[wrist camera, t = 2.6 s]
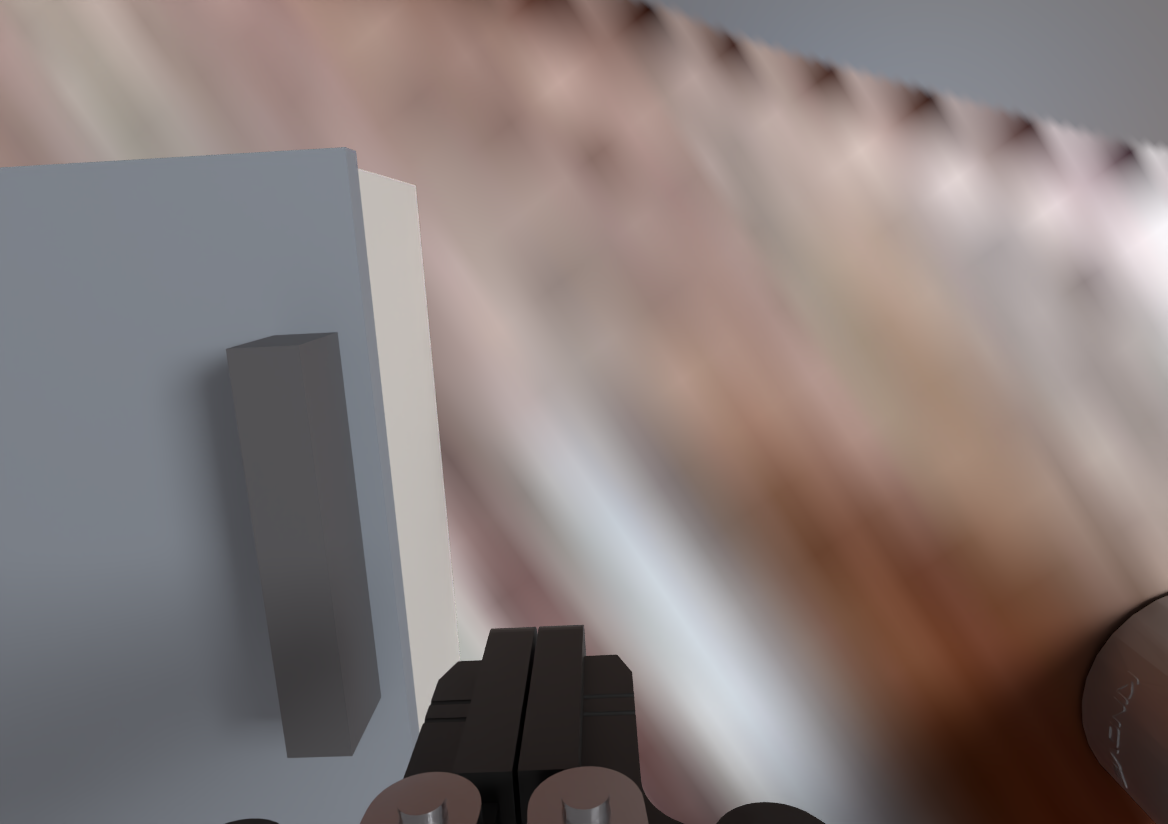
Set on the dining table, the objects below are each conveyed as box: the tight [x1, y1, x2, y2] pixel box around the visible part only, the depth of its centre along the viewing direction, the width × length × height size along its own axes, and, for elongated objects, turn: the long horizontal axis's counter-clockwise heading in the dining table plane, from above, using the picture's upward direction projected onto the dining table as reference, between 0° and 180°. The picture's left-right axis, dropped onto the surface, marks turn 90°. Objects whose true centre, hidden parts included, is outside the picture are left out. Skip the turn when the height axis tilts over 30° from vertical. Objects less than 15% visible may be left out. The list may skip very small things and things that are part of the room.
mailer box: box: [358, 169, 461, 733], centre depth 25 cm, size 20×18×7 cm
